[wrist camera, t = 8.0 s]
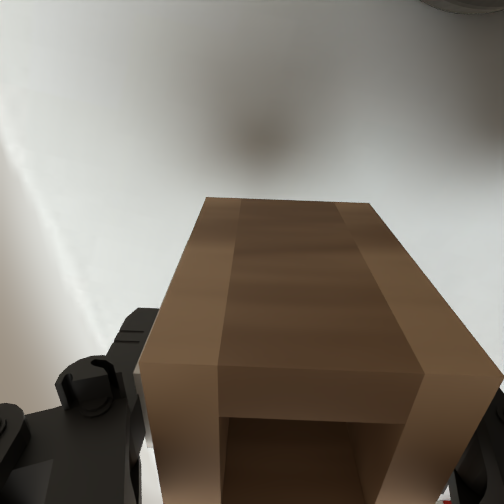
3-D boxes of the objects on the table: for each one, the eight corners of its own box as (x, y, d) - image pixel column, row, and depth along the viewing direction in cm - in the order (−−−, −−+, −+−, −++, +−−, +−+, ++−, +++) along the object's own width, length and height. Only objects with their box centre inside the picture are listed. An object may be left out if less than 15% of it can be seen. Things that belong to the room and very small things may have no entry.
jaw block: (206, 196, 13) (138, 362, 6) (369, 203, 13) (504, 376, 6) (210, 323, 16) (169, 537, 9) (343, 328, 16) (411, 547, 8)
